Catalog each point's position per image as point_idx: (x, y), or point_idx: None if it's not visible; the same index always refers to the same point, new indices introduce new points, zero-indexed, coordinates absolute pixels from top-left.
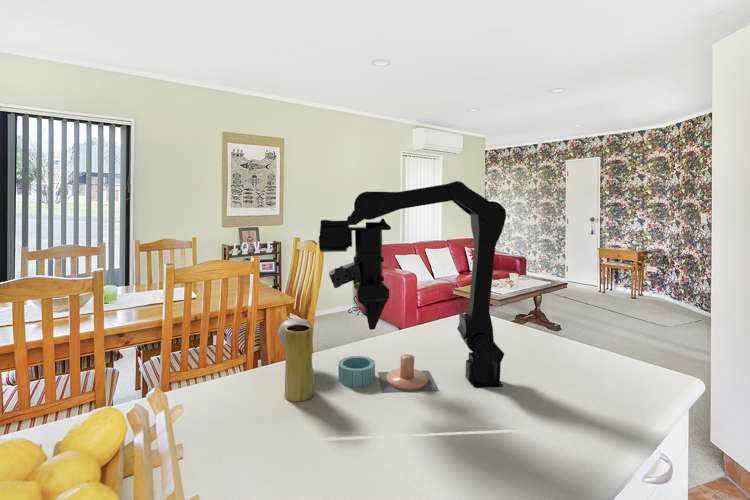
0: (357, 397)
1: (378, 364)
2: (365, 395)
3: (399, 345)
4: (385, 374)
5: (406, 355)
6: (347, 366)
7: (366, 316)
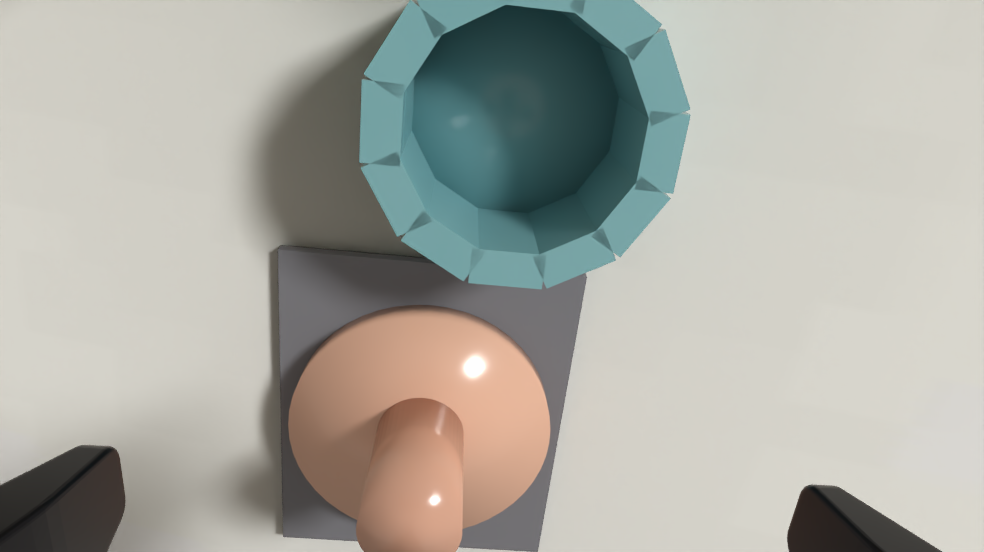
0: (247, 78)
1: (734, 304)
2: (274, 137)
3: None
4: (536, 318)
5: (437, 532)
6: (616, 58)
7: (804, 492)
